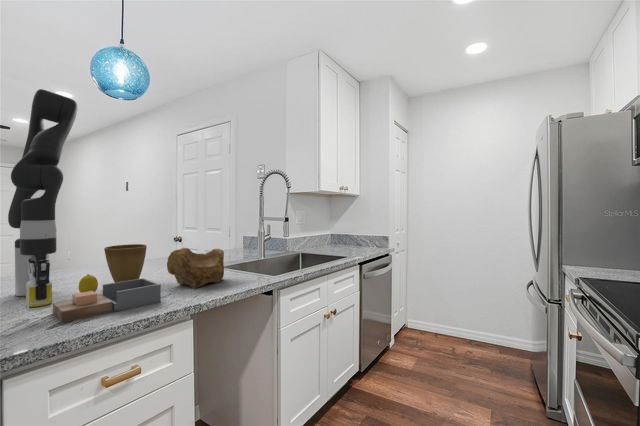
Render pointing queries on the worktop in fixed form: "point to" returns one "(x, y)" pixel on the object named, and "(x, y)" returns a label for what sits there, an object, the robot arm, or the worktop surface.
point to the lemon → (88, 284)
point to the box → (132, 293)
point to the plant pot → (125, 261)
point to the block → (84, 298)
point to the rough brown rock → (196, 267)
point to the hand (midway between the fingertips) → (39, 297)
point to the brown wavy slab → (81, 309)
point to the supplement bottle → (31, 298)
